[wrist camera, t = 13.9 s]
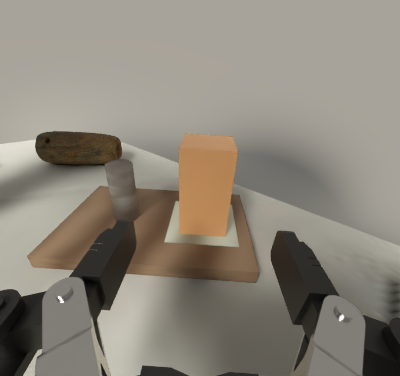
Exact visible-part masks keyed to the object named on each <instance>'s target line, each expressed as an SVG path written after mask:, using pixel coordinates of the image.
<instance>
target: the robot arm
mask: <svg viewBox="0 0 400 376" xmlns="http://www.w3.org/2000/svg"><path fill="white" fill-rule="evenodd" d="M136 244H137V241H136V234H135V227H134V222H133V221H132V220H118V221H117V222H116V224H115V225H114V227H113V228H112V229H111V228H107V229H106V230H105V231H103V232H102V233H101V234H99V236H98V237H97V239H96V240H95V241H94V244H92V246H91V247H90V248H89V250H88V251H87V253H86V254H85V255H84V257H83V258H82V260H81V261H80V262H79V264H78V265H77V267H76V268H75V269H74V271H73V272H72V274H71V275H70V276H69V278H65V279H62V280H60V281H58V282H57V283H55V284H54V285H52V286H51V287H50V288H49V289H48V290H47V291H45V292H41V293H36V294H32V295H27V296H23V297H21V295H20V294H19V292H18V291H16V290H13V289H7V290H3V291H0V376H23V374H24V373H25V371H26V369H27V367H28V366H29V364H30V362H31V361H32V359H33V357H34V355H35V354H36V352H37V350H39V349H42V354H41V355H39V356H38V357H37V360H36V365H35V376H111V373H110V370H109V367H108V363H107V359H106V355H105V350H104V346H103V341H102V337H101V332H100V328H99V324H98V320H97V318H98V316H99V314H100V312H101V310H110V308H111V306H112V304H113V301H114V299H115V297H116V294H117V292H118V290H119V288H120V285H121V283H122V281H123V278H124V276H125V274H126V271H127V269H128V267H129V264H130V262H131V260H132V257H133V255H134V253H135V250H136ZM271 262H272V265H273V268H274V270H275V273H276V276H277V279H278V282H279V285H280V288H281V291H282V294H283V297H284V300H285V303H286V306H287V309H288V312H289V314H290V317H291V320H292V323H293V324H294V325H302V326H303V329H304V333H303V336H302V339H301V342H300V345H299V348H298V351H297V355H296V358H295V361H294V364H293V367H292V370H291V373H290V376H362V375H363V376H400V318H394V319H392V320H391V321H390V322H389V323H388V324H386V323H384V322H381V321H378V320H375V319H373V318H370V317H367V316H365V315H362V314H361V312H360V311H359V310H358V309H357V308H356V307H355V306H354V305H353V304H352V303H351V302H349V301H348V300H346V299H344V298H342V297H340V296H339V294H338V293H337V291H336V289H335V288H334V286H333V284H332V283H331V281H330V279H329V278H328V276H327V274H326V273H325V271H324V269H323V268H322V267H321V264H320V263H319V261H318V260H317V258H316V256H315V254H314V253H313V251H312V250H311V249H310V248H309V247H308V246H307V245H306V244H305V243H304V242H299V240H298V239H297V237H296V235H295V233H294V232H291V231H278V232H277V234H276V237H275V240H274V243H273V246H272V249H271ZM138 376H188V375H186V374H184V373H182V372H179V371H177V370H175V369H173V368H168V367H155V366H142V370H141V374H140V375H138ZM218 376H258V374H247V373H234V372H229V373H225V374H221V375H218Z"/></svg>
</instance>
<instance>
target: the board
mask: <svg viewBox="0 0 400 376" xmlns="http://www.w3.org/2000/svg"><path fill="white" fill-rule="evenodd" d="M105 170H106V175H107V180H108V185H109V187H105V186H99V187H98V188H97V189H96V190H95V191H94V192H93V193H92V194H91V195H90V196H89V197H88V198H87V199H86V200H85V201H84V202H83V203H82V204H81V205H80V206H79V207H78V208H77V209H76V210H74V211H73V212H72V213H71V214H70V215H69V216H68V217H67V218H66V219H65V220H64V221H63V222H62V223H61V224H60V225H59V226H58V227H57V228H56V229H55V230H54V231H53V232H52V233H51V234H50V235H49V236H48V237H47V238H46V239H44V240H43V241H42V242H41V243H40V244H39V245H38V246H37V247H36V248H35V249H34V250H33V251H32V252H31V253H30V254H29V255H28V256H27V257H28V259H29V261H30V263H31V265H32V266H33V267H39V268H53V269H68V270H74V269H75V268H76V267H77V265H78V264H79V262H80V261H81V260H82V258H83V257H84V255H85V254H86V253H87V251H88V250H89V248H90V247H91V246H92V244H94V241H95V240H96V239H97V237H98V236H99V234H101V233H102V232H103V231H105V230H106V229H107V228H111V229H112V228H113V227H114V225H115V224H116V222H117V221H118V220H132V221H133V222H134V227H135V234H136V241H137V244H136V250H135V253H134V255H133V257H132V260H131V262H130V264H129V267H128V269H127V271H126V274H140V275H154V276H169V277H183V278H197V279H212V280H226V281H240V282H255V283H256V282H257V278H258V275H259V269H258V266H257V262H256V258H255V254H254V250H253V246H252V242H251V238H250V235H249V231H248V227H247V223H246V219H245V215H244V211H243V207H242V204H241V200H240V196H239V195H231V202H230V208H229V215H228V222H227V229H226V235H225V237H221V236H207V235H192V234H179V191H168V190H152V189H136V188H135V180H134V172H133V164H132V162H131V161H129V160H114V161H110V162H108V163H106V164H105Z"/></svg>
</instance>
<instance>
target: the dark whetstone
mask: <svg viewBox="0 0 400 376" xmlns="http://www.w3.org/2000/svg"><path fill="white" fill-rule="evenodd" d="M35 148H36V152H37V154H38V156H39V157H40V158H41V159H42V160H43V161H45V162H49V163H56V164H84V165H86V164H106V163H108V162H110V161H114V160H119V158H120V157H121V155H122V147H121V142H120V140H119V139H118V138H117V137H115V136H111V135H106V134H96V133H83V132H59V131H58V132H57V131H56V132H55V131H54V132H46V133H42V134H39V135H38V136H37V138H36V144H35Z"/></svg>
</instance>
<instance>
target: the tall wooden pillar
mask: <svg viewBox="0 0 400 376" xmlns="http://www.w3.org/2000/svg"><path fill="white" fill-rule="evenodd" d="M237 154H238V150H237V148H236V145H235V142H234V140H233V137H232V136H216V135H201V134H185V136H184V138H183V140H182V142H181V145H180V147H179V234H192V235H207V236H221V237H225V235H226V229H227V222H228V215H229V208H230V202H231V195H232V188H233V181H234V175H235V168H236V161H237Z"/></svg>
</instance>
